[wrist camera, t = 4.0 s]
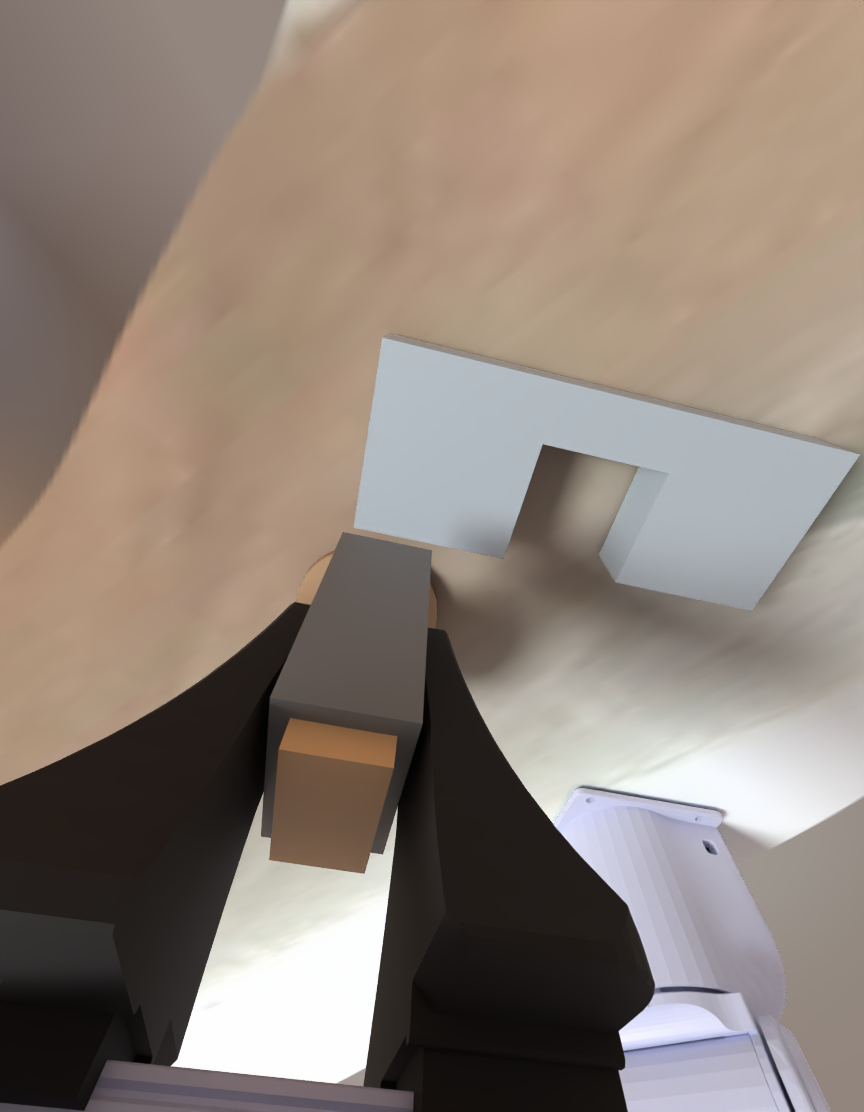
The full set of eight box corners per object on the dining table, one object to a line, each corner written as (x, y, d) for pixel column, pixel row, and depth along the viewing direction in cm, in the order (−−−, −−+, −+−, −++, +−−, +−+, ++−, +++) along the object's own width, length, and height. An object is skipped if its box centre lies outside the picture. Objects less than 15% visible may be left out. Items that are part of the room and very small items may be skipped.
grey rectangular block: (431, 550, 13) (420, 755, 7) (404, 657, 15) (379, 886, 9) (342, 531, 13) (256, 728, 7) (327, 642, 14) (250, 868, 9)
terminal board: (813, 437, 17) (860, 454, 15) (722, 581, 20) (751, 611, 18) (390, 333, 16) (382, 337, 14) (363, 504, 19) (353, 527, 17)
